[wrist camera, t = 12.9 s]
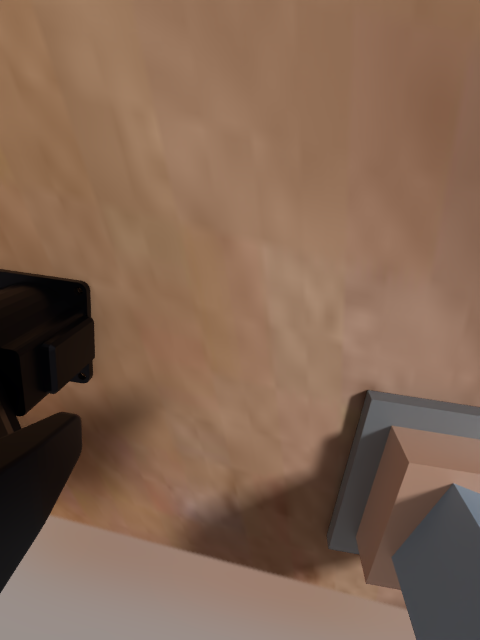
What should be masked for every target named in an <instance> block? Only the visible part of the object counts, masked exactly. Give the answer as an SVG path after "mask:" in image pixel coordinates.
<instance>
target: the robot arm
mask: <svg viewBox="0 0 480 640" xmlns="http://www.w3.org/2000/svg"><path fill="white" fill-rule="evenodd" d="M78 287H80V288H81V289H82V293H80V292H79V291H78V289H77V288H78ZM94 358H95V345H94V321H93V319H92V318H91V301H90V288H89V286H88V284H87V283H85V282H83V281H79V280H72V279H66V278H59V277H52V276H45V275H38V274H31V273H24V272H17V271H10V270H3V269H0V593H1V591H2V590H3V588H4V587H5V585H6V584H7V582H8V580H9V579H10V577H11V576H12V574H13V573H14V571H15V570H16V568H17V566H18V565H19V563H20V562H21V560H22V559H23V557H24V555H25V554H26V552H27V551H28V549H29V548H30V546H31V545H32V543H33V542H34V540H35V538H36V537H37V535H38V534H39V532H40V530H41V529H42V527H43V525H44V524H45V522H46V520H47V518H48V516H49V515H50V513H51V511H52V509H53V507H54V505H55V503H56V501H57V499H58V497H59V495H60V493H61V491H62V489H63V487H64V486H65V484H66V482H67V480H68V478H69V476H70V474H71V472H72V470H73V468H74V466H75V464H76V462H77V460H78V458H79V456H80V453H81V450H82V429H81V418H80V416H78V415H77V414H72V413H66V412H59V413H57V414H54V415H52V416H50V417H47V418H45V419H43V420H41V421H38V422H36V423H34V424H31V425H29V426H27V427H25V428H22V429H21V426H20V424H19V422H18V419H17V417H16V416H24V415H25V414H26V413H27V412H28V411H30V410H31V409H32V408H33V407H34V406H35V405H36V404H37V403H38V402H40V401H41V400H42V399H43V398H44V397H45V396H46V395H47V394H49V393H50V394H55V393H57V392H58V391H59V390H60V389H61V388H63V387H64V386H65V385H66V384H67V383H68V382H69V381H71V382H77V383H87V382H88V381H89V380H90V379H91V378H92V376H93V364H92V360H93V359H94ZM81 373H84V374H85V376H86V377H85V376H83V375H82V374H81Z"/></svg>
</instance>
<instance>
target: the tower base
mask: <svg viewBox="0 0 480 640" xmlns="http://www.w3.org/2000/svg"><path fill="white" fill-rule="evenodd" d="M453 483H454V484H457V485H459V486H462V487H464V488H467V489H469V490H472V491H474V492H477V493H479V494H480V407H474V406H468V405H461V404H455V403H448V402H442V401H435V400H429V399H422V398H416V397H409V396H403V395H396V394H390V393H383V392H377V391H370V390H368V391H367V395H366V398H365V402H364V405H363V409H362V412H361V416H360V419H359V423H358V426H357V430H356V434H355V437H354V441H353V444H352V448H351V451H350V455H349V458H348V462H347V466H346V469H345V473H344V476H343V480H342V483H341V487H340V490H339V494H338V497H337V501H336V505H335V508H334V512H333V515H332V519H331V522H330V526H329V529H328V533H327V541H328V549H331V550H337V551H343V552H348V553H354V554H359V555H360V559H361V563H362V568H363V572H364V577H365V582H366V584H372V585H377V586H382V587H388V588H393V589H399V590H401V587H400V584H399V581H398V577H397V574H396V571H395V568H394V564H393V561H392V558H391V557H392V556H393V555H394V554H395V553H396V551H397V550H398V549H399V548H400V547H401V545H402V544H403V543H404V542H405V541H406V539H407V538H408V537H409V536H410V535H411V533H412V532H413V531H414V530H415V529H416V527H417V526H418V525H419V524H420V523H421V521H422V520H423V519H424V518H425V517H426V515H427V514H428V513H429V512H430V511H431V509H432V508H433V507H434V506H435V505H436V503H437V502H438V501H439V500H440V499H441V497H442V496H443V495H444V494H445V493H446V491H447V490H448V489H449V488H450V487H451V485H452V484H453Z"/></svg>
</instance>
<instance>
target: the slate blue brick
mask: <svg viewBox="0 0 480 640" xmlns="http://www.w3.org/2000/svg"><path fill="white" fill-rule="evenodd" d="M391 558H392V561H393V564H394V568H395V571H396V574H397V577H398V581H399V584H400V587H401V591H402V594H403V597H404V600H405V604H406V607H407V610H408V614H409V617H410V620H411V623H412V626H413V630H414V633H415V636H416V640H480V494H479V493H477V492H474V491H472V490H469V489H467V488H464V487H462V486H459V485H457V484H454V483H453V484H452V485H451V487H450V488H449V489H448V490H447V491H446V493H445V494H444V495H443V496H442V497H441V499H440V500H439V501H438V502H437V503H436V505H435V506H434V507H433V508H432V509H431V511H430V512H429V513H428V514H427V515H426V517H425V518H424V519H423V520H422V521H421V523H420V524H419V525H418V526H417V527H416V529H415V530H414V531H413V532H412V533H411V535H410V536H409V537H408V538H407V539H406V541H405V542H404V543H403V544H402V545H401V547H400V548H399V549H398V550H397V551H396V553H395V554H394V555H393V556H392V557H391Z"/></svg>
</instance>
